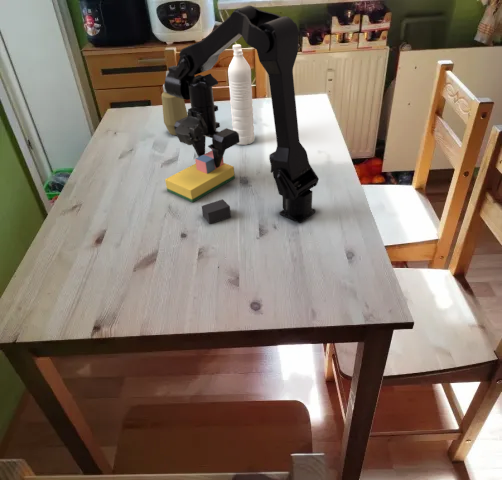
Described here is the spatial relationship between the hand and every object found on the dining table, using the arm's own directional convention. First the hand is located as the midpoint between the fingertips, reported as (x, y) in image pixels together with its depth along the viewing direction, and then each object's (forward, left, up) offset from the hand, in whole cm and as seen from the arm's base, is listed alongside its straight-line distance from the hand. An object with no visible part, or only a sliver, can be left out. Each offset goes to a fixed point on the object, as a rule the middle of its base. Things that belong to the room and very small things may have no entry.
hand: (210, 164), depth 125 cm
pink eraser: (0, 0, -1) cm, 1 cm away
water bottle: (+10, -24, -4) cm, 26 cm away
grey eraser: (-15, +13, -4) cm, 20 cm away
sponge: (0, +4, -4) cm, 6 cm away
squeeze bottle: (+32, -16, -4) cm, 36 cm away
